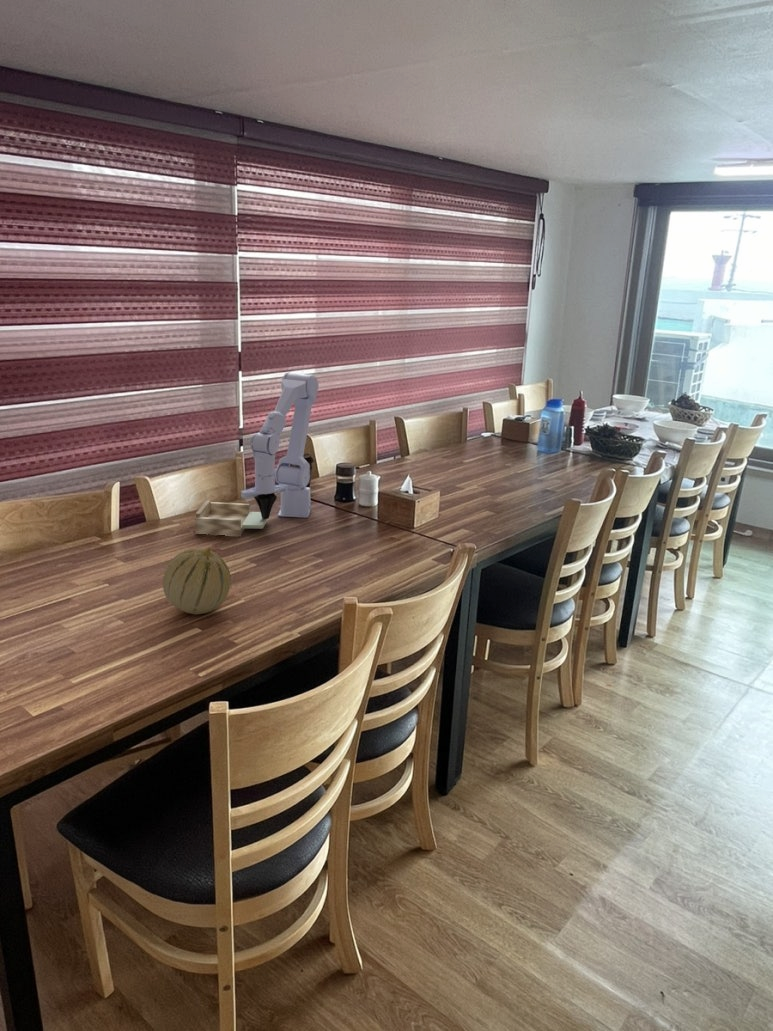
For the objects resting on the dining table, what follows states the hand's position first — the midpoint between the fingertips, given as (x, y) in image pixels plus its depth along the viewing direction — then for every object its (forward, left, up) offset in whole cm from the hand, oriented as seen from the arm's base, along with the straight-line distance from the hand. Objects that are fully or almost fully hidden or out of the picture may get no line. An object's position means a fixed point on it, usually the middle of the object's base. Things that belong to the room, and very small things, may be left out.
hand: (265, 517), depth 216 cm
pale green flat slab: (+6, 0, -1) cm, 6 cm away
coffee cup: (-6, -39, -4) cm, 40 cm away
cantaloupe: (+6, +55, -4) cm, 55 cm away
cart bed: (+13, 0, -3) cm, 13 cm away
